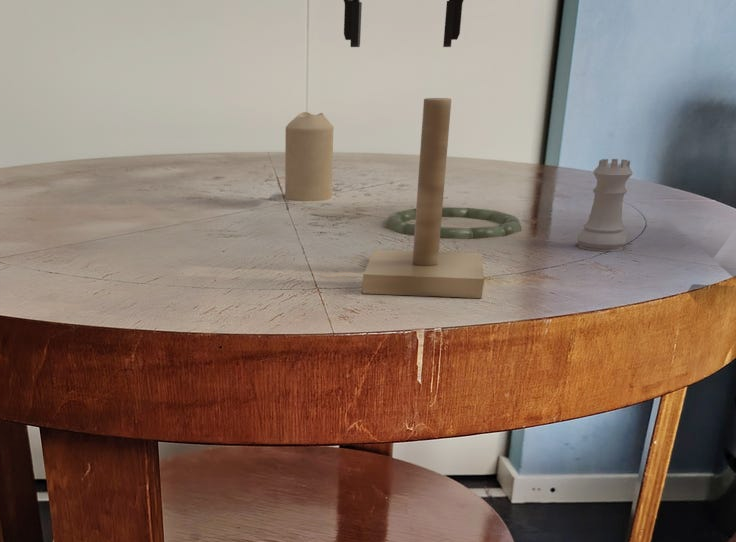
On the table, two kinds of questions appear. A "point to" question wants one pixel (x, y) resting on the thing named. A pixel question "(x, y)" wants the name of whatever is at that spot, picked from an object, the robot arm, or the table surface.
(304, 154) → the candle
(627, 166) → the rook chess piece
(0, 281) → the table surface
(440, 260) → the post
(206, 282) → the table surface
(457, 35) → the robot arm
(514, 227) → the hoop
